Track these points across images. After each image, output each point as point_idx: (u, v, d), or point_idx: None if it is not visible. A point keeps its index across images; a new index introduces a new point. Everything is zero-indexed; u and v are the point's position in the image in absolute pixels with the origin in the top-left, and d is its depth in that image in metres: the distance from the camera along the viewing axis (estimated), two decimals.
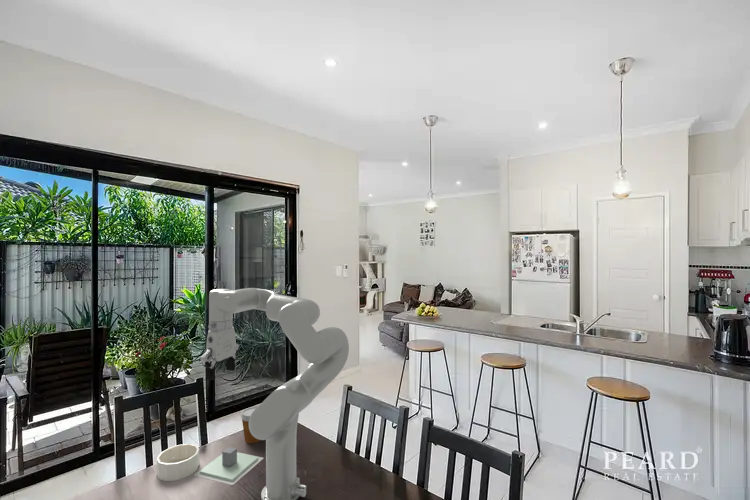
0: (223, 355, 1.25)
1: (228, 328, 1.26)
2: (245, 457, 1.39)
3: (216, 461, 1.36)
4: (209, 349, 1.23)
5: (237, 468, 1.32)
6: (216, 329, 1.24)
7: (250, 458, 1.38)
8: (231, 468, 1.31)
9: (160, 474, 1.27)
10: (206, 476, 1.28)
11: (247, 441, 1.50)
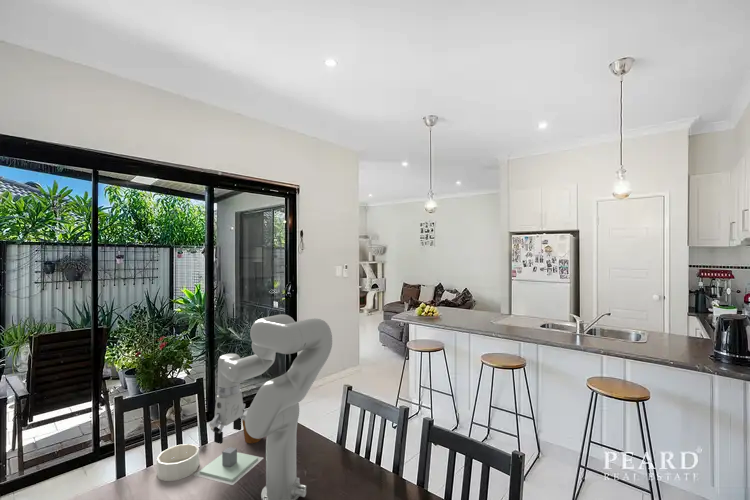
0: (231, 419, 1.32)
1: (236, 393, 1.33)
2: (245, 457, 1.39)
3: (216, 461, 1.36)
4: (218, 414, 1.30)
5: (237, 468, 1.32)
6: (224, 395, 1.31)
7: (250, 458, 1.38)
8: (231, 468, 1.31)
9: (160, 474, 1.27)
10: (206, 476, 1.28)
11: (247, 441, 1.50)
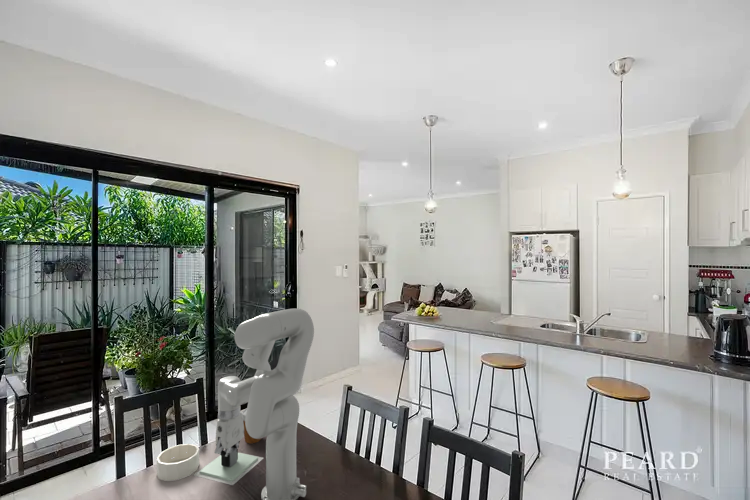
0: (232, 443, 1.32)
1: (236, 416, 1.33)
2: (245, 457, 1.39)
3: (216, 461, 1.36)
4: (219, 440, 1.30)
5: (237, 468, 1.32)
6: (225, 418, 1.31)
7: (250, 458, 1.38)
8: (231, 468, 1.31)
9: (160, 474, 1.27)
10: (206, 476, 1.28)
11: (247, 441, 1.50)
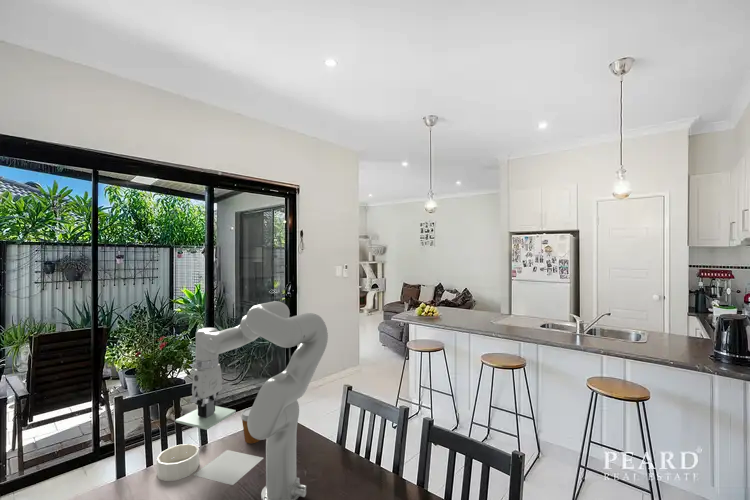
0: (208, 393, 1.31)
1: (213, 367, 1.32)
2: (223, 410, 1.38)
3: (193, 412, 1.36)
4: (195, 389, 1.29)
5: (213, 418, 1.31)
6: (202, 368, 1.30)
7: (228, 411, 1.37)
8: (207, 419, 1.31)
9: (160, 474, 1.27)
10: (206, 476, 1.28)
11: (247, 441, 1.50)
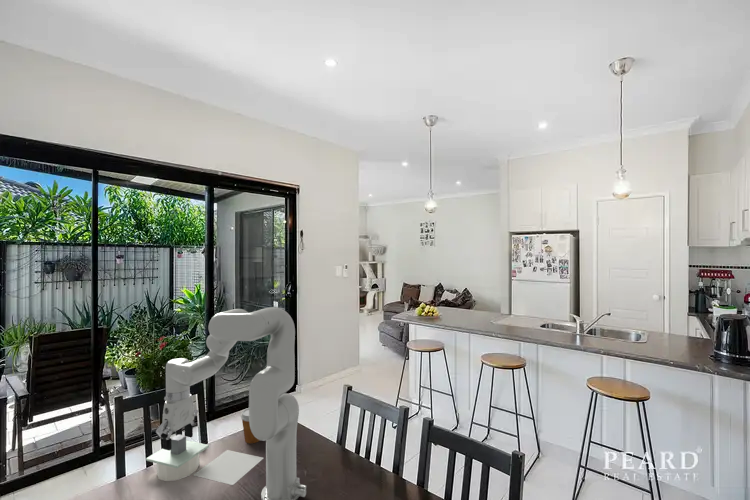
0: (179, 425, 1.30)
1: (184, 398, 1.31)
2: (195, 445, 1.37)
3: None
4: (165, 420, 1.28)
5: (185, 455, 1.30)
6: (172, 400, 1.29)
7: (200, 446, 1.36)
8: (179, 456, 1.30)
9: (160, 474, 1.27)
10: (206, 476, 1.28)
11: (247, 441, 1.50)
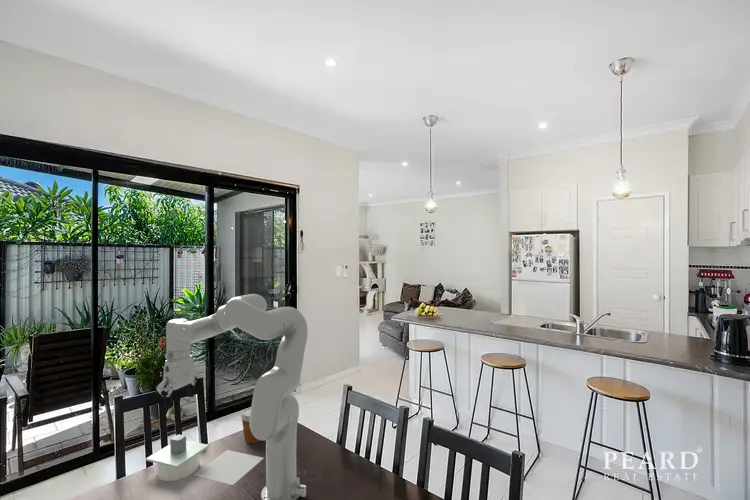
0: (180, 384, 1.30)
1: (185, 357, 1.31)
2: (195, 445, 1.37)
3: (165, 449, 1.34)
4: (166, 378, 1.28)
5: (185, 455, 1.30)
6: (173, 359, 1.29)
7: (200, 446, 1.36)
8: (179, 456, 1.30)
9: (160, 474, 1.27)
10: (206, 476, 1.28)
11: (247, 441, 1.50)
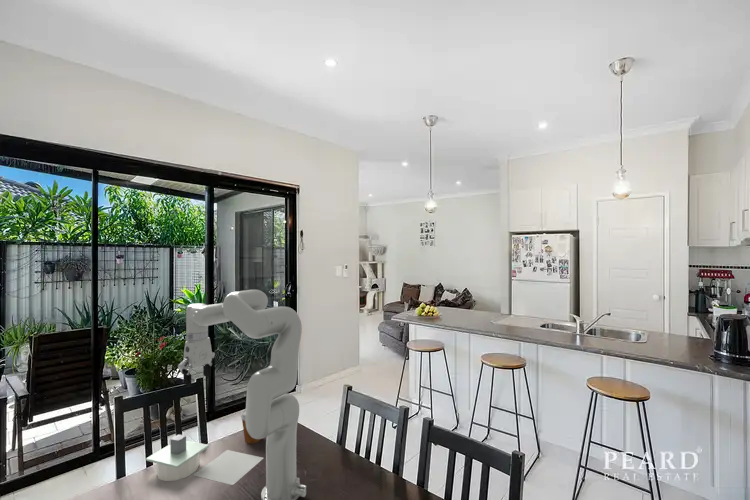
0: (199, 363, 1.41)
1: (203, 339, 1.42)
2: (195, 445, 1.37)
3: (165, 449, 1.34)
4: (186, 358, 1.39)
5: (185, 455, 1.30)
6: (192, 340, 1.40)
7: (200, 446, 1.36)
8: (179, 456, 1.30)
9: (160, 474, 1.27)
10: (206, 476, 1.28)
11: (247, 441, 1.50)
